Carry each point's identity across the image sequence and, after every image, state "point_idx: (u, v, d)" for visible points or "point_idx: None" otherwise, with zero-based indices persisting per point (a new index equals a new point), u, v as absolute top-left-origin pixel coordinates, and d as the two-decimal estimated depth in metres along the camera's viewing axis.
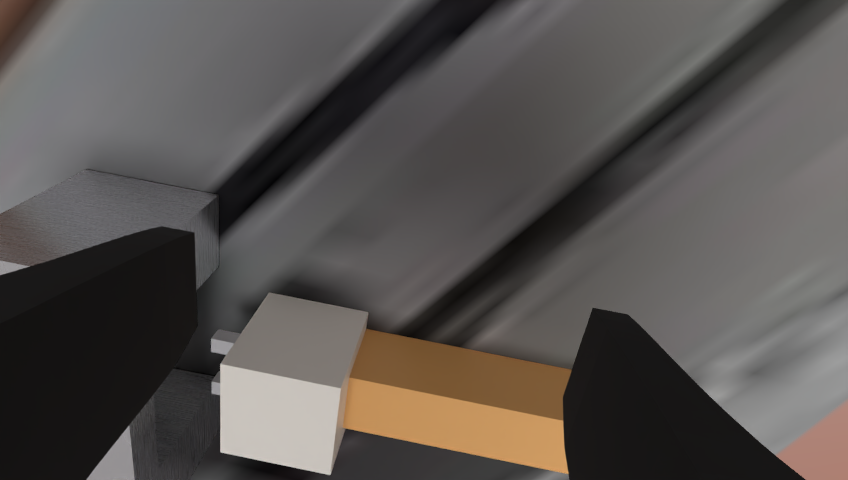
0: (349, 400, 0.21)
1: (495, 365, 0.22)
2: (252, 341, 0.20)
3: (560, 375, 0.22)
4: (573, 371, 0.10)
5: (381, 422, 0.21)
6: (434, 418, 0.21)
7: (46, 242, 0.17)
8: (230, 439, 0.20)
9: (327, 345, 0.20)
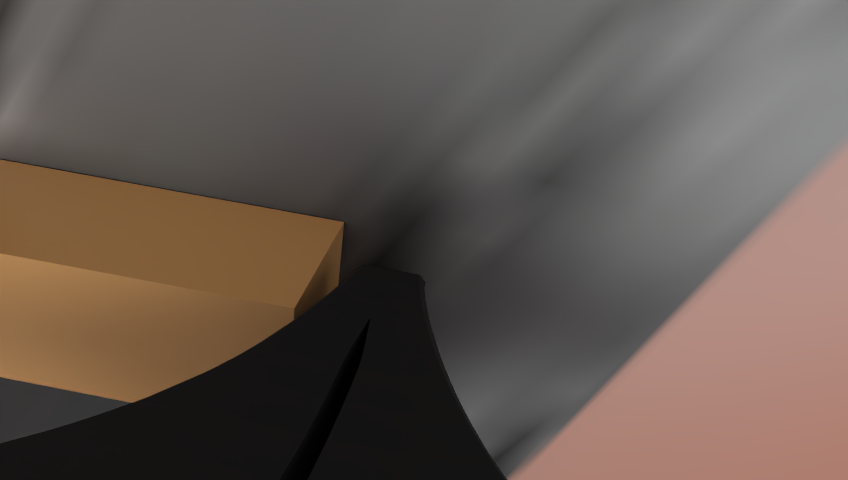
0: None
1: None
2: None
3: (108, 191, 0.11)
4: None
5: None
6: None
7: None
8: None
9: None
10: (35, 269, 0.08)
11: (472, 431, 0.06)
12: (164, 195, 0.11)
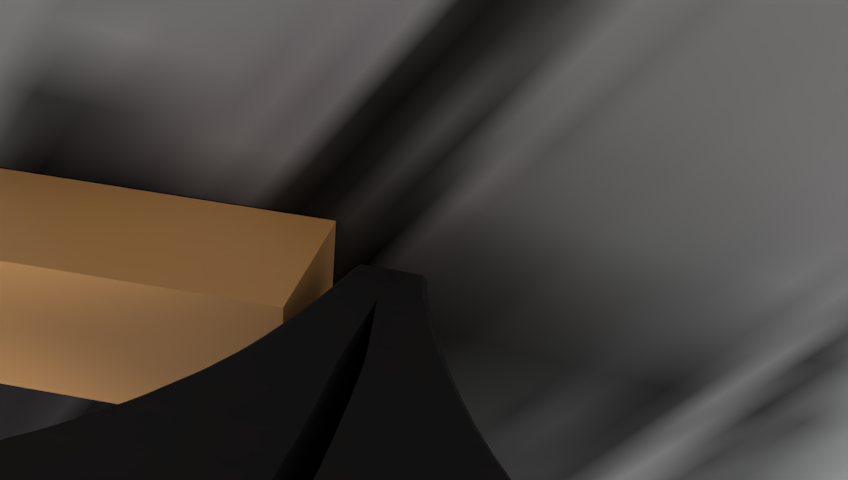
0: None
1: None
2: None
3: (100, 196, 0.11)
4: None
5: None
6: None
7: None
8: None
9: None
10: (26, 274, 0.08)
11: (476, 432, 0.06)
12: (156, 199, 0.11)
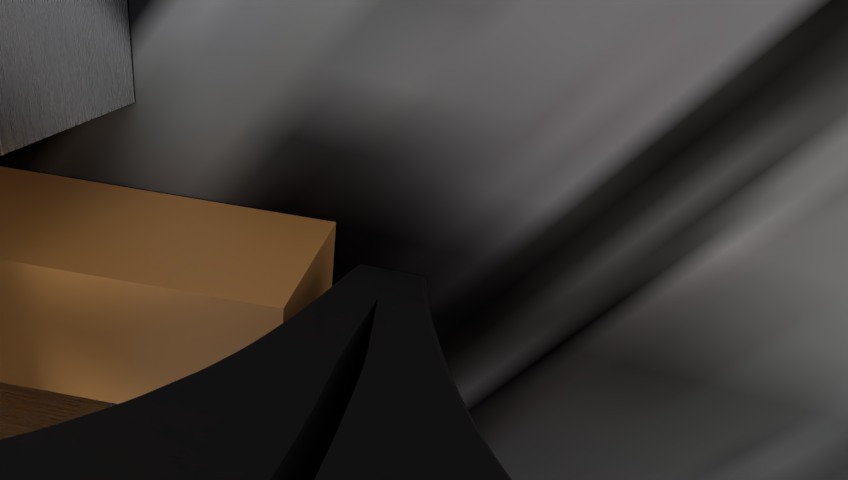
0: None
1: None
2: None
3: (101, 195, 0.11)
4: None
5: None
6: None
7: None
8: None
9: None
10: (27, 273, 0.08)
11: (477, 432, 0.06)
12: (155, 198, 0.11)
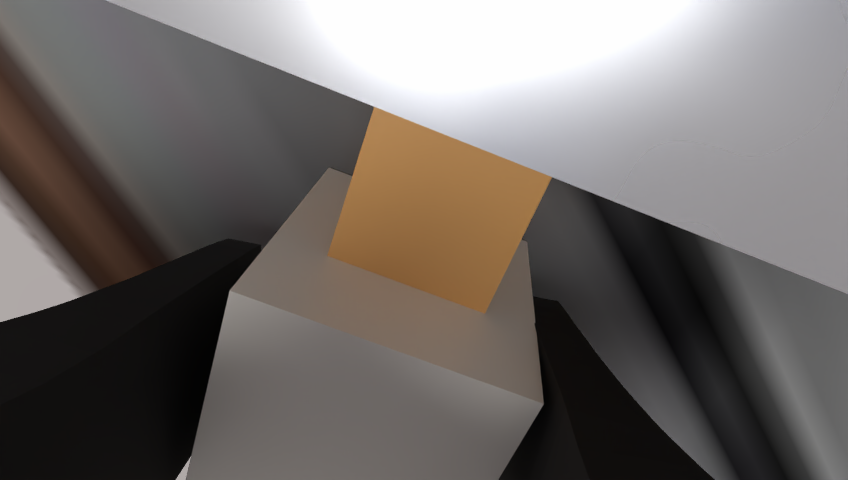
0: (399, 274, 0.08)
1: None
2: None
3: None
4: None
5: (478, 216, 0.08)
6: None
7: None
8: None
9: None
10: None
11: (712, 479, 0.06)
12: None
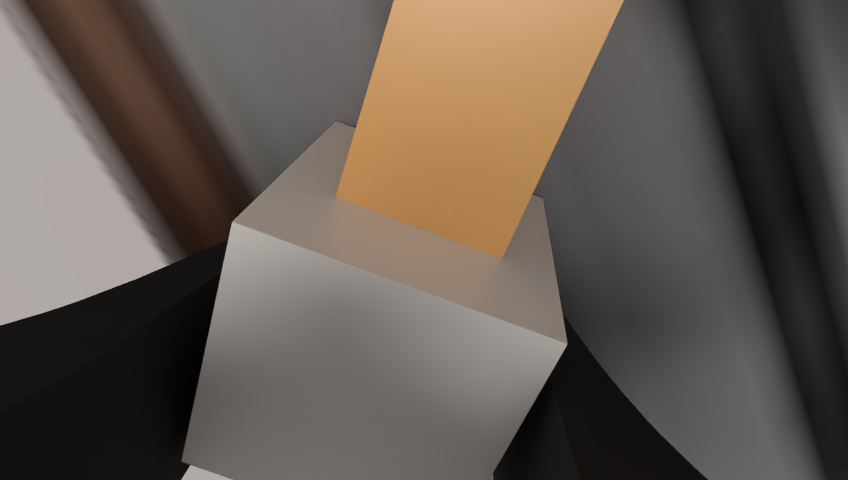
0: (411, 216, 0.08)
1: None
2: None
3: None
4: None
5: (496, 151, 0.07)
6: None
7: None
8: None
9: None
10: None
11: (703, 477, 0.06)
12: None
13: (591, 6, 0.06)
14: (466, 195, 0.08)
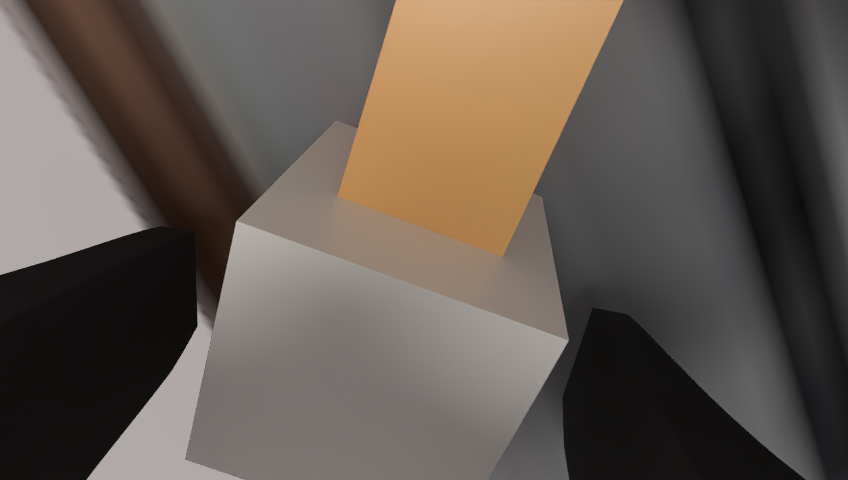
0: (412, 215, 0.08)
1: None
2: None
3: None
4: (573, 371, 0.10)
5: (496, 149, 0.07)
6: None
7: None
8: None
9: None
10: None
11: None
12: None
13: (591, 6, 0.06)
14: (467, 194, 0.08)
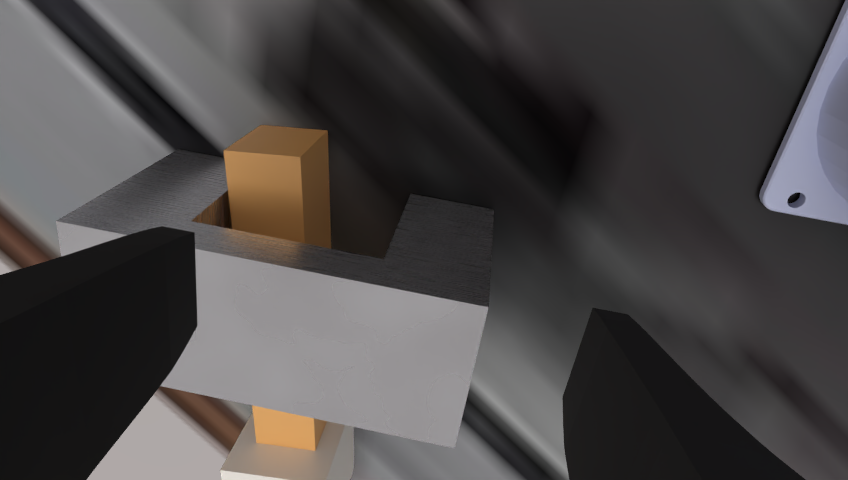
0: (281, 443, 0.23)
1: None
2: None
3: None
4: (573, 371, 0.10)
5: (297, 422, 0.22)
6: None
7: None
8: None
9: None
10: None
11: None
12: None
13: None
14: (295, 435, 0.23)
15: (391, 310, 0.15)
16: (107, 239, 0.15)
